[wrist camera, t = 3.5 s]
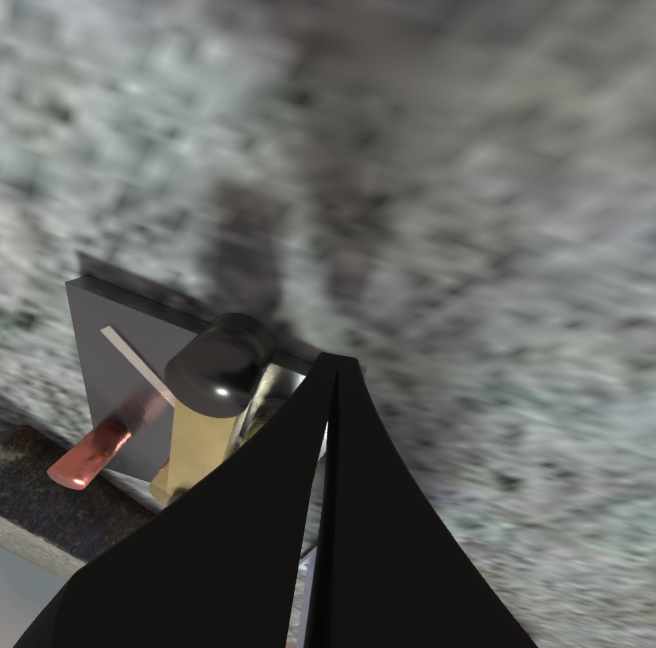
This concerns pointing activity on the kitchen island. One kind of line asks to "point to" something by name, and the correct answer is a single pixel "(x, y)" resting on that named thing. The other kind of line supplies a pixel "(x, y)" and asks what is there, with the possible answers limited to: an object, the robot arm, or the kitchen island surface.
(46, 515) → the stone block
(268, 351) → the crank lever
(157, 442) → the crank base
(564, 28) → the kitchen island surface
